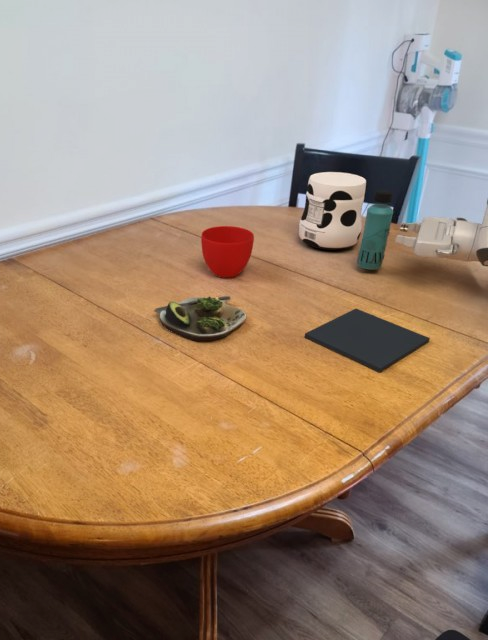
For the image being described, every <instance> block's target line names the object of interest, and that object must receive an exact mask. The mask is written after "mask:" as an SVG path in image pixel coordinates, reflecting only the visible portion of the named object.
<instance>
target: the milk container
mask: <svg viewBox="0 0 488 640" xmlns="http://www.w3.org/2000/svg"><path fill="white" fill-rule="evenodd" d="M366 186H367V179H366V178H364V177H362V176H361V175H358V174H354V173H349V172H341V171H338V172H337V171H324V172H316V173H313V174H311V175H310V176H309V178H308V183H307V188H306V193H305V201H304V202H305V203H304V208H303V212H302V215H301V217H300V221H299V222H298V223H299V224H298V236H299V238H300V240H301V241H302V242H303V243H304V244H306V245H308V246H309V247H313V248H315V249H321V250H326V251H327V250H329V251H339V250H345V249H350V248H352V247H354V246H355V245H356V244H357V242H358V241H359V240H360V237H361V234H362V230H363V222H362V211H363V206H364V200H365V193H366Z"/></svg>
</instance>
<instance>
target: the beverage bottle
mask: <svg viewBox="0 0 488 640" xmlns="http://www.w3.org/2000/svg"><path fill="white" fill-rule="evenodd" d="M392 198H393V192H391V191H390V190H386V189H385V190H383V189H380V190H376V191H375V193H374V196H373V201H375V202H376V203H374V204H372V205H370V206H369V207H368V208H367V210H366V216H365V221H364V226H363V231H362V232H363V233H362V237H361V240H360V245H359V249H358V254H357V259H356V264H357V266H358V267H359V268H361V269H363V270H364V269H365V270H369V271H370V270H373V271H374V270H379V269H380V268H381V267H382V266H383V261H384V260H385V254H386V253H385V252H386V248H387V244H388V243H387V242H388V239H389V237H390V231H391V227H392V226H391V225H392V219H393V215H394V210H393V208H392V207H391V206H390V205H388V204H387V203H392V200H393V199H392Z"/></svg>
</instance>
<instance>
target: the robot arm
mask: <svg viewBox="0 0 488 640" xmlns="http://www.w3.org/2000/svg"><path fill="white" fill-rule="evenodd" d="M399 230H400V232H404V233H407V232H412V233H413V232H414V233H416V234H417V236H412V237H411V236H407V235H406V234H402V233H398V234H397V235H396V237H395V244H401V245H404V246H406V247H408V248H413V252H412V253H413V255H414V256H417V257H421V258H430V259H445V258H446V259H448V260H454V261H461V262H467V263H468V262H469V263H470V262H478V263H480V264H481V266H483V267H488V199H487V200H486V207H485V210H484V215H483V218H482V222H481V223H479V222H472V221H469V220H467V219H466V218H465V217H461V216H457V217H455V219H454V218H452V217H451V218H450V217H443V216H442V217H441V216H426V217H423V218H422V220H421V222H401V224H400V228H399Z"/></svg>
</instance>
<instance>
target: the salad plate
mask: <svg viewBox="0 0 488 640" xmlns="http://www.w3.org/2000/svg"><path fill="white" fill-rule="evenodd" d="M230 300H231V296H230V295H224V296H215V297H211V296H208V297H205V296H194V297H192V296H191V297H188V298H186V299H183V300H181V301H180V302H177V301H170V302H168V304H167V305H164V306H160V307H157V308H154V310H153V312H155V313H157V315H158V318H159V321H160V323H161V324H162V326H163V327H164V328H165V329H166V328H167V329H168V330H167V329H166V330H167V331H169V330H170V331H169V332H171V331H172V332H171V333H173V334H175V333H176V334H175V335H177V334H178V335H177V336H179V335H180V336H179V337H181V336H182V337H181V338H183V337H184V339H186V338H187V339H186V340H189V339H190V341H195V342H204V343H206V342H213V341H216V340H219V339H221V338H223V337H225V336H226V337H227V336H228V335H229V334H230V333H231V332H232V331H234V330H235V329H237V328H239V327H240V326H241V325H242V324H243V323H244V322H245V321H246V319H247V314H246V313H245V311H244V310H243V309H242V308H239V307H236V306H232V305H228V304H226V303H227V302H228V301H230Z"/></svg>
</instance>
